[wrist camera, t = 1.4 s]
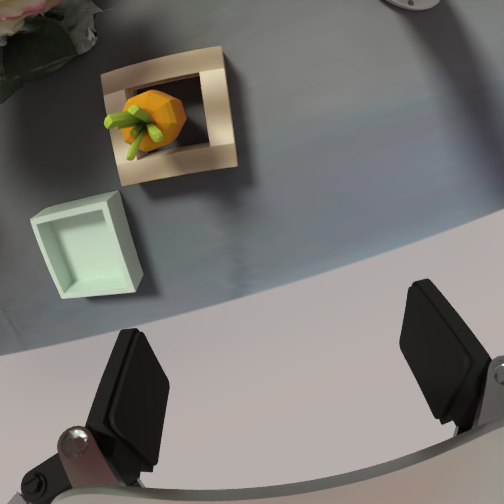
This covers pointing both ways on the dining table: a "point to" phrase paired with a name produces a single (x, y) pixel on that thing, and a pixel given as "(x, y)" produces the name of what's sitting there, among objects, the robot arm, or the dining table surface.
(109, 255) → the tray
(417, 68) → the dining table surface
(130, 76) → the wooden stand
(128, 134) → the carrot
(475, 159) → the dining table surface
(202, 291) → the dining table surface
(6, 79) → the rose bouquet
